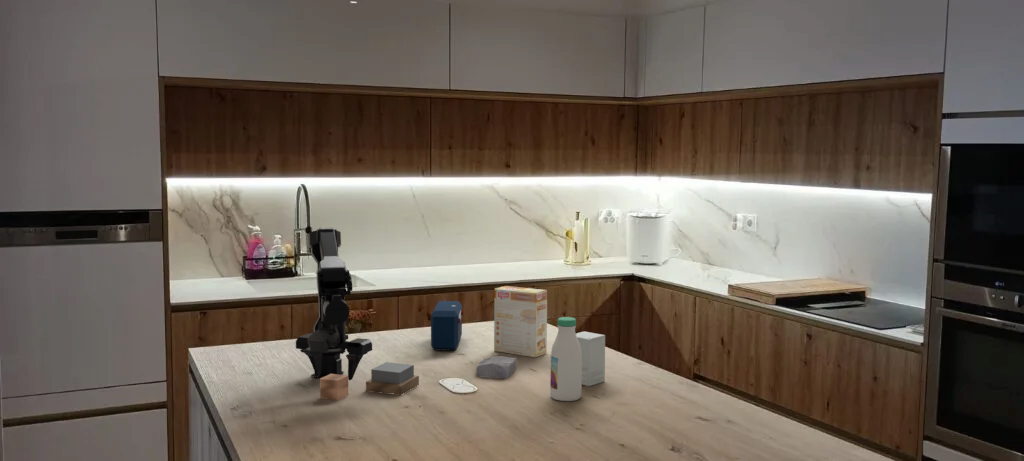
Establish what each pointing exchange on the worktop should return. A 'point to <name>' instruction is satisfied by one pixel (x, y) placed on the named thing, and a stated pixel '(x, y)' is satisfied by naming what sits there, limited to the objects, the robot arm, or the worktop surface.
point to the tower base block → (392, 386)
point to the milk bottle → (566, 362)
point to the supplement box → (592, 357)
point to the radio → (446, 325)
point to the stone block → (496, 367)
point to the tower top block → (392, 373)
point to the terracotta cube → (334, 386)
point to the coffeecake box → (520, 321)
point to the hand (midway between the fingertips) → (334, 378)
